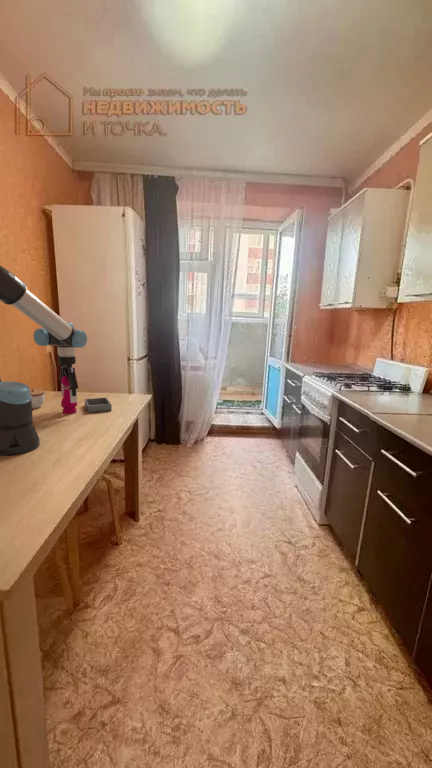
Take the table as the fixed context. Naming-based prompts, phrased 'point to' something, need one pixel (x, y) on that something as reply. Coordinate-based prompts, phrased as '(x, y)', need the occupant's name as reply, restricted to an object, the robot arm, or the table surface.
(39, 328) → the robot arm
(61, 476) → the table surface
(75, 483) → the table surface
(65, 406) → the pepper mill
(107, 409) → the bin
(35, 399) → the lidded jar
